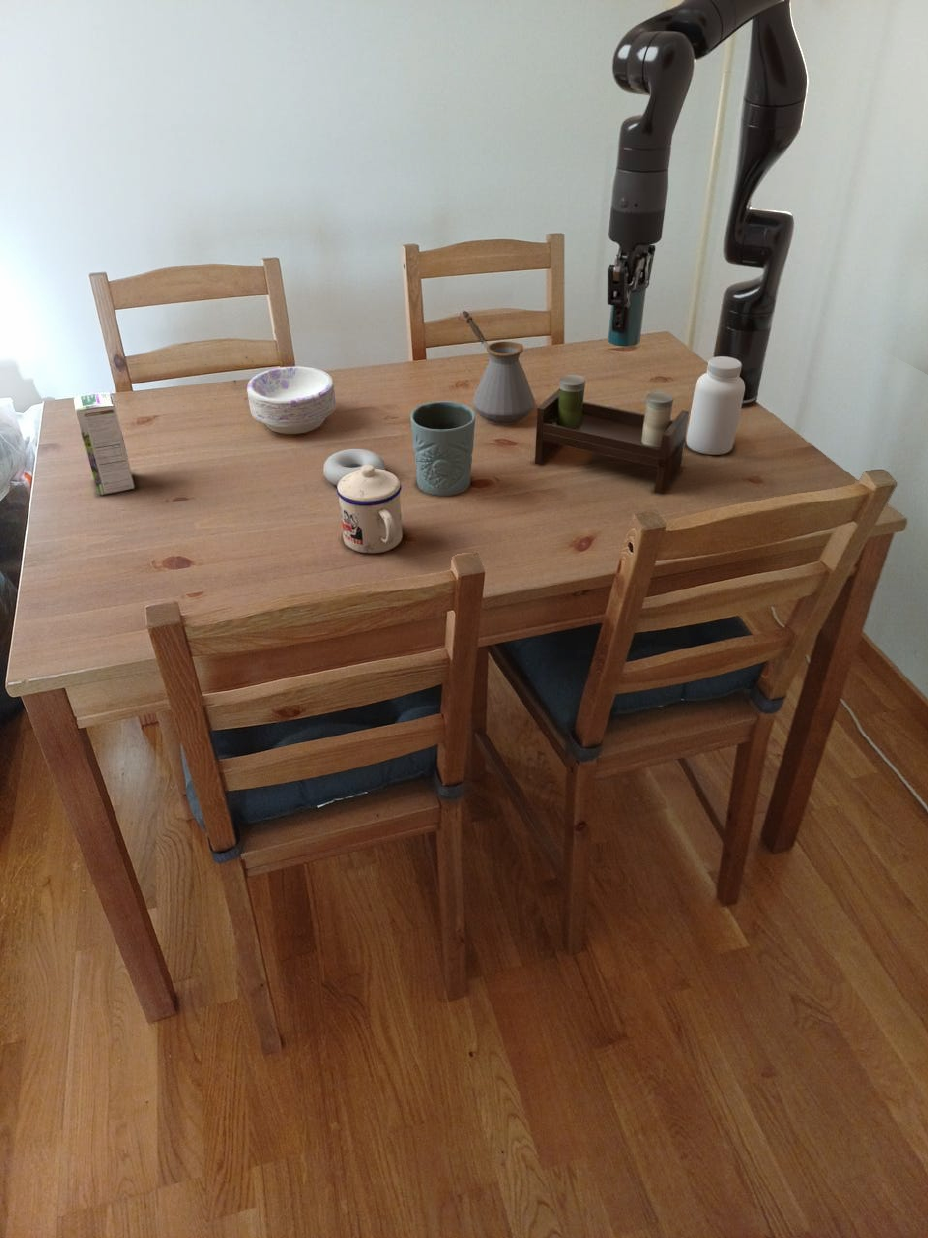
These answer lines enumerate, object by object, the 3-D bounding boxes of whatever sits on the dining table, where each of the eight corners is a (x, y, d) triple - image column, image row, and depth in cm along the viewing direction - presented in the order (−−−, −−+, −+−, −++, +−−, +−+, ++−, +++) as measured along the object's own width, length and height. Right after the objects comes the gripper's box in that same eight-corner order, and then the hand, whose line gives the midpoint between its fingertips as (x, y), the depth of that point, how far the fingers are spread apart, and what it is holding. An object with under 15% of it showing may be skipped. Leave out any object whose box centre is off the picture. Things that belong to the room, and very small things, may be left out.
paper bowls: (314, 447, 152) (309, 404, 148) (237, 435, 156) (230, 393, 151) (351, 411, 164) (347, 370, 159) (278, 401, 168) (272, 361, 163)
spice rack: (558, 439, 154) (563, 364, 146) (680, 467, 146) (693, 389, 138) (534, 463, 147) (538, 386, 139) (661, 494, 139) (673, 413, 131)
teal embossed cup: (445, 462, 148) (444, 395, 140) (488, 483, 142) (489, 414, 135) (400, 483, 142) (396, 414, 135) (443, 506, 136) (441, 435, 129)
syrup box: (95, 480, 144) (70, 396, 135) (132, 473, 145) (110, 390, 137) (98, 496, 139) (73, 410, 131) (137, 489, 141) (114, 404, 132)
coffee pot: (546, 421, 160) (550, 340, 151) (491, 434, 156) (492, 352, 147) (488, 380, 175) (489, 304, 166) (437, 392, 171) (435, 314, 162)
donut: (370, 497, 139) (394, 467, 146) (368, 478, 137) (393, 449, 144) (313, 487, 141) (340, 459, 149) (311, 468, 139) (338, 440, 147)
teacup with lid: (332, 531, 131) (324, 461, 123) (389, 516, 134) (384, 447, 127) (364, 572, 122) (357, 499, 115) (423, 555, 126) (420, 482, 118)
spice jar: (613, 333, 136) (619, 273, 130) (644, 338, 134) (652, 277, 129) (602, 343, 132) (607, 282, 127) (633, 349, 131) (641, 287, 125)
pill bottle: (734, 458, 148) (751, 372, 139) (685, 454, 150) (699, 369, 140) (732, 437, 154) (748, 354, 145) (685, 433, 156) (699, 350, 147)
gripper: (647, 217, 115) (633, 345, 125) (680, 195, 125) (664, 315, 135) (593, 211, 118) (584, 337, 128) (629, 190, 128) (617, 308, 138)
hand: (625, 325), depth 132 cm, fingers closed on spice jar, 4 cm apart
